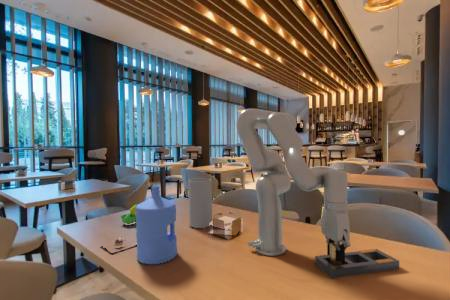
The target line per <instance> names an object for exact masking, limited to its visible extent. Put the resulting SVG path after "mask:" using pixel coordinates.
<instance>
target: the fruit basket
mask: <svg viewBox="0 0 450 300" xmlns="http://www.w3.org/2000/svg"><path fill="white" fill-rule="evenodd" d="M138 204H139V203H138ZM138 204H134V205H133V206H132V207H130V209H129V212H130V213H126V214H123V215H120V219H121V221H122V223H123V222H124V223H127V224H130V223H133V222H136V206H137V205H138Z"/></svg>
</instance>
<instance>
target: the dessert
mask: <svg viewBox="0 0 450 300" xmlns="http://www.w3.org/2000/svg"><path fill="white" fill-rule="evenodd" d="M122 239H123V238H121V237H120V236H119V237H118V238H116V239H115V240H114V241H115V244H113V247H114V246H122V245H123V244H124V245H125V243H124V242H125V241H123V240H122Z"/></svg>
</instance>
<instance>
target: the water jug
mask: <svg viewBox="0 0 450 300" xmlns="http://www.w3.org/2000/svg"><path fill="white" fill-rule="evenodd" d="M160 192H161V190H160V186H159V185H155V186H151V197H149V198H148V199H146V200H144V201H142V202H140V203H138V205H137V206H136V224H135V226H136V230H135V231H136V232H135V234H136V235H135V238H136V244H137V246H136V259H137V261H138V262H139V263H141V262H142V263H141V264H144V263H145V264H144V265H160V263H161V264H165V263H167V261H168V262H169V261H171V259H172V260H173V259H174V258H175V257H176V256H177V254H178V246H177V245H178V244H177V243H178V242H177V240H178V239H177V235H176V232H175V230H176V228H175V227H176V225H175V222H176V221H177V207H176V206H177V204H176V203H175V202H174V201H173V200H170V199H167V198H165V197H161V195H160V194H161V193H160ZM168 227H170V228H169V230H170V231H169V232H168ZM164 262H165V263H164Z"/></svg>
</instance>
